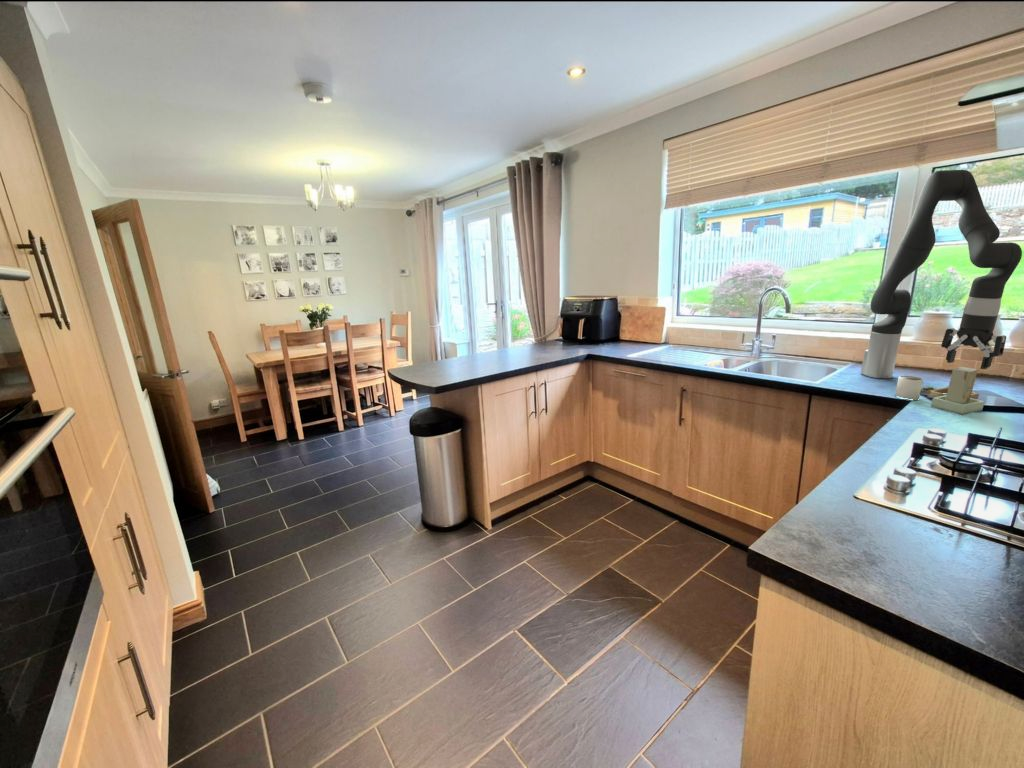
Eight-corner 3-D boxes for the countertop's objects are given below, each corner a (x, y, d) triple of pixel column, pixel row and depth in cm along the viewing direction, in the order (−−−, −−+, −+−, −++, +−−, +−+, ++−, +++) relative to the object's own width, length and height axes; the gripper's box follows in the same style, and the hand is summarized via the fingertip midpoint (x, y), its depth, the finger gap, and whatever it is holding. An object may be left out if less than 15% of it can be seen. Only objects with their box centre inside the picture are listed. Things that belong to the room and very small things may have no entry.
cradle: (909, 393, 167) (910, 386, 166) (928, 389, 170) (930, 382, 170) (956, 405, 154) (958, 398, 153) (977, 401, 158) (979, 393, 157)
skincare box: (960, 410, 148) (970, 372, 145) (943, 406, 152) (952, 369, 148) (968, 406, 151) (978, 368, 148) (951, 402, 155) (960, 366, 151)
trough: (930, 406, 153) (932, 397, 153) (950, 402, 157) (952, 393, 156) (962, 415, 146) (964, 405, 145) (982, 410, 149) (984, 401, 148)
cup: (890, 396, 164) (894, 376, 162) (902, 393, 166) (906, 374, 164) (910, 401, 158) (915, 381, 156) (923, 399, 161) (928, 378, 159)
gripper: (1019, 315, 138) (1003, 369, 142) (960, 308, 150) (947, 359, 155) (1003, 317, 135) (987, 372, 140) (944, 310, 148) (932, 361, 153)
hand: (966, 365), depth 148 cm, fingers open, 8 cm apart
